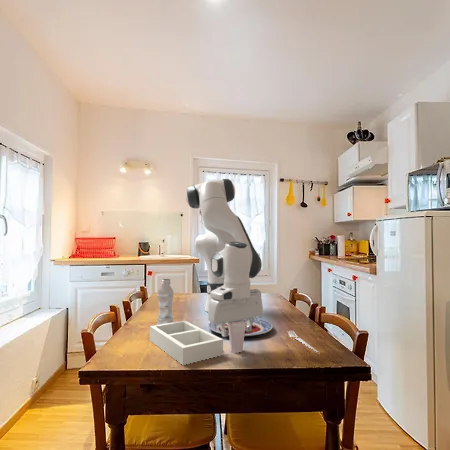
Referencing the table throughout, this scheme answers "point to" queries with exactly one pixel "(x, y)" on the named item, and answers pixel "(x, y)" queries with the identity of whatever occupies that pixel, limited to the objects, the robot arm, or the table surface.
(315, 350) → the fork
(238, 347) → the smoothie
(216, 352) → the caddy
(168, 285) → the plastic bottle
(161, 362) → the table surface
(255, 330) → the ceramic plate
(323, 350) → the table surface
